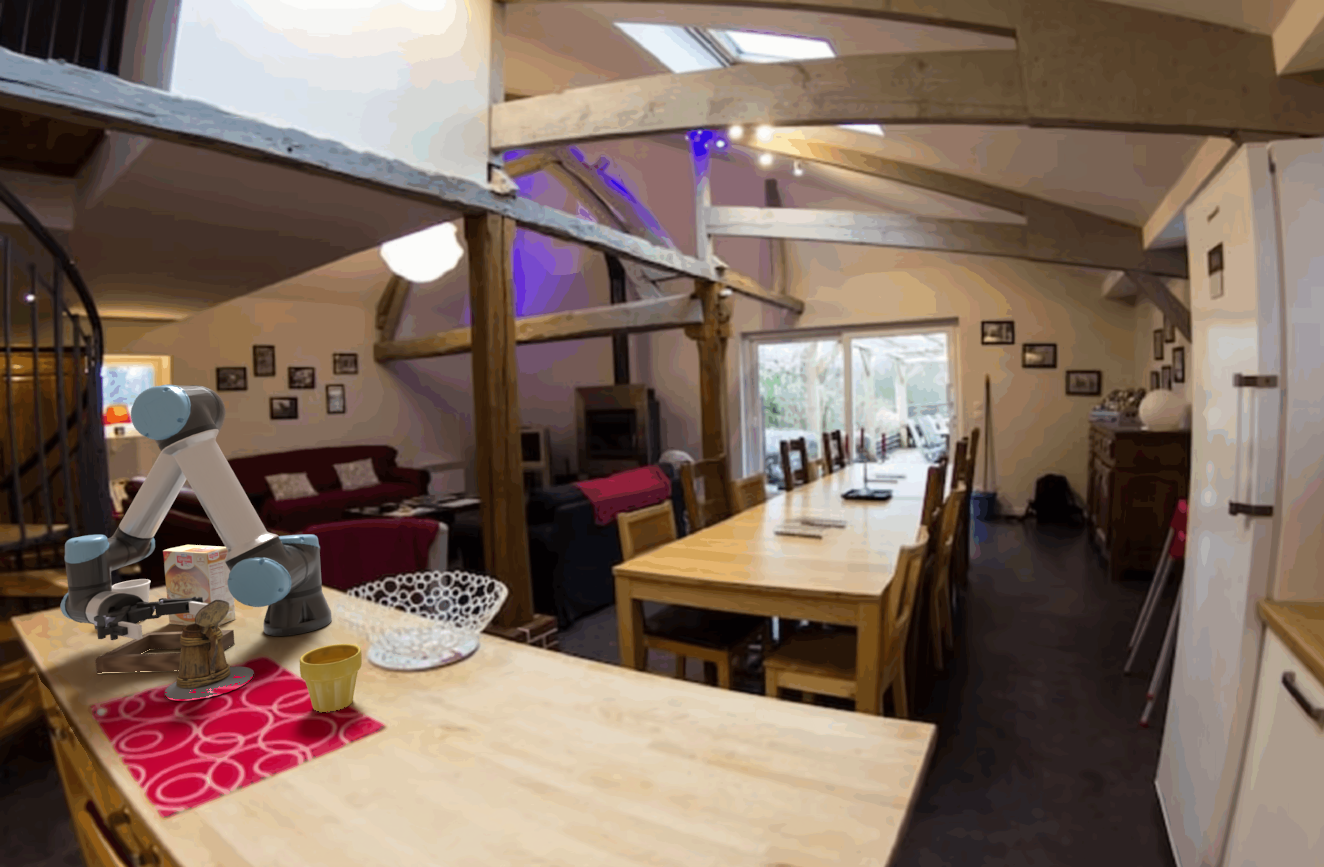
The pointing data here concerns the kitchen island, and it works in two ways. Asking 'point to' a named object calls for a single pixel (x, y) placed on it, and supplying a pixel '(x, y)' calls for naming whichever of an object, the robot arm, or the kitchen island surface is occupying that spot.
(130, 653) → the frame
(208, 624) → the wooden mug
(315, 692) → the plant pot
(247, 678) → the grey mat
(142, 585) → the dixie cup
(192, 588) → the coffeecake box
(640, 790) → the kitchen island surface
